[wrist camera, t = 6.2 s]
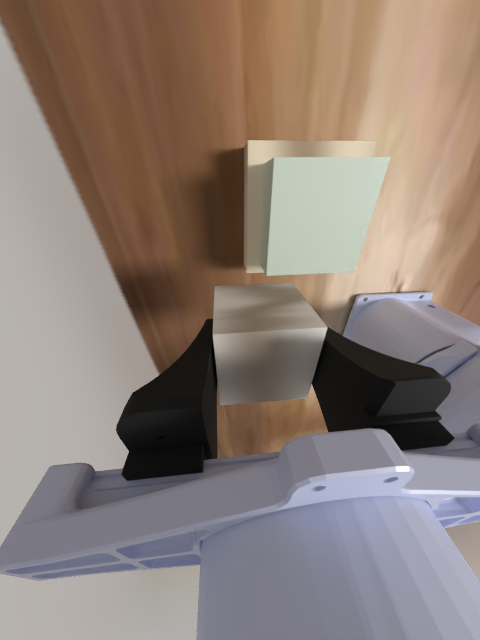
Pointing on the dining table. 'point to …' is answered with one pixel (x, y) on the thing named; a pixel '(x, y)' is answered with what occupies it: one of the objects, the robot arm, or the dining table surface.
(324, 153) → the birch slab
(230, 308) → the ivory cube
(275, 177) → the sage block
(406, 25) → the dining table surface
